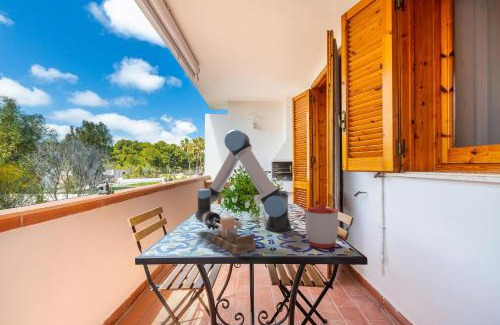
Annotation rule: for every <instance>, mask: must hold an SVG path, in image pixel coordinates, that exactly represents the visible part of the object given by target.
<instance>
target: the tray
mask: <svg viewBox="0 0 500 325" xmlns="http://www.w3.org/2000/svg"><path fill="white" fill-rule="evenodd" d="M254 236H255V235H254V234H253V233H251V234H247V235H240V234H238V233H237V237H236V242H233V243H230V242H228V241H226V240H224V239H222V238H220V235H215V234H212V237H211V238H212V239H211V240H212V243H214V244H215V245H217V246H218V247H221V248H223V249H224V250H226V251H228V252H229V253H232V255H240V254H243V253H248V252H252V251H255V250H256V249H257V248H256V241H255V240H254V239H255V237H254Z"/></svg>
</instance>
